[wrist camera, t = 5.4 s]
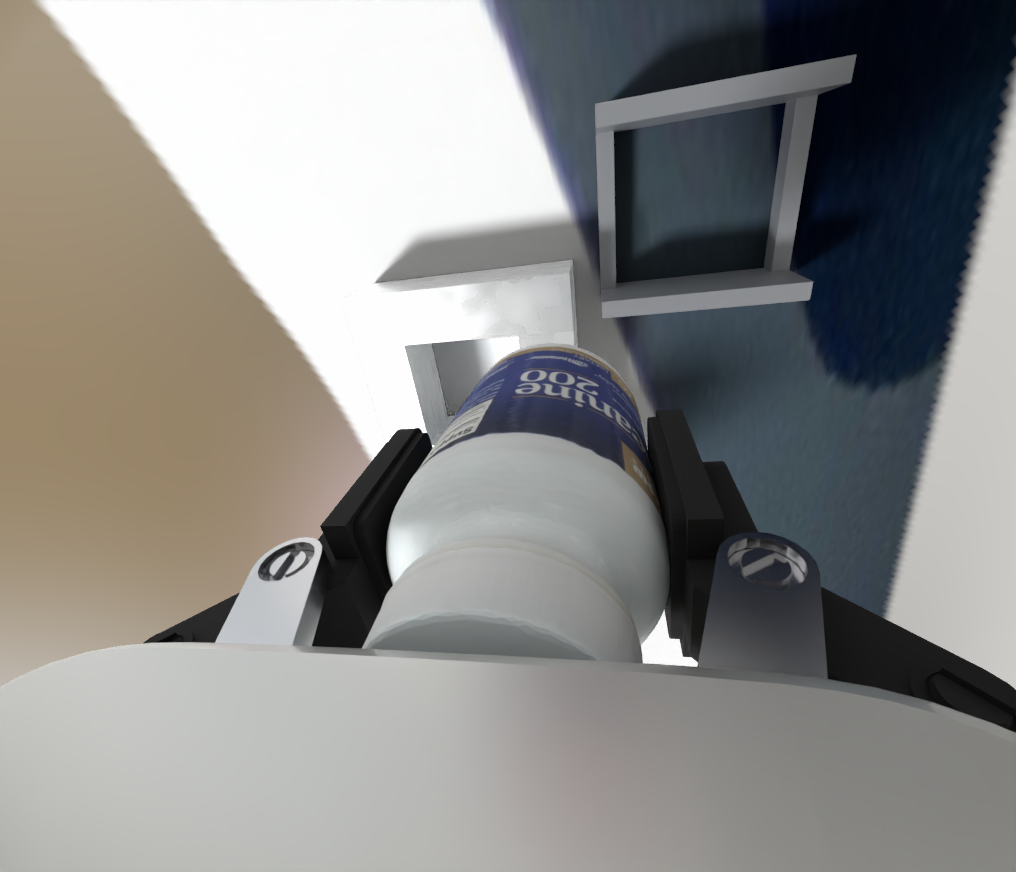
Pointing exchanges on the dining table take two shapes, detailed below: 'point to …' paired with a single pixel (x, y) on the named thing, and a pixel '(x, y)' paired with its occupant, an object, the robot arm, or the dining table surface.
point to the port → (451, 330)
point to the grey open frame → (775, 278)
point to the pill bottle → (531, 521)
